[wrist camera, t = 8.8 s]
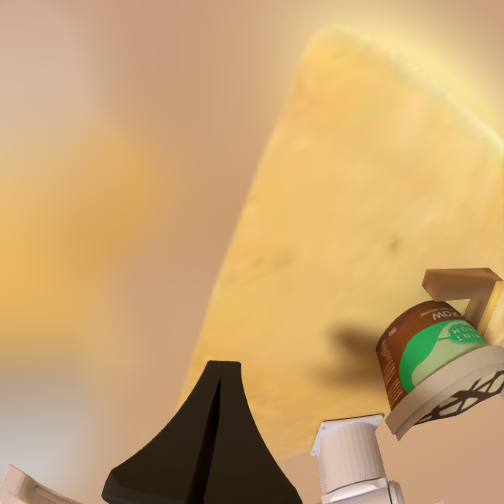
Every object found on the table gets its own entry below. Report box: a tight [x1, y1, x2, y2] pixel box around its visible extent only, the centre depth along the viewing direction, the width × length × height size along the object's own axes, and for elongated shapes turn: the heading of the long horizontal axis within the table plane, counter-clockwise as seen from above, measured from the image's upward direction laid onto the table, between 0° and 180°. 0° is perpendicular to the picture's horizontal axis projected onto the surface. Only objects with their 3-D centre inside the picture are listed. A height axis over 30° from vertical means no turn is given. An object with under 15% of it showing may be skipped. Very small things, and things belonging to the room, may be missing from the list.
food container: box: [376, 300, 504, 441], centre depth 18 cm, size 12×6×10 cm, turn 94°
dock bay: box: [422, 268, 504, 336], centre depth 22 cm, size 12×8×3 cm
